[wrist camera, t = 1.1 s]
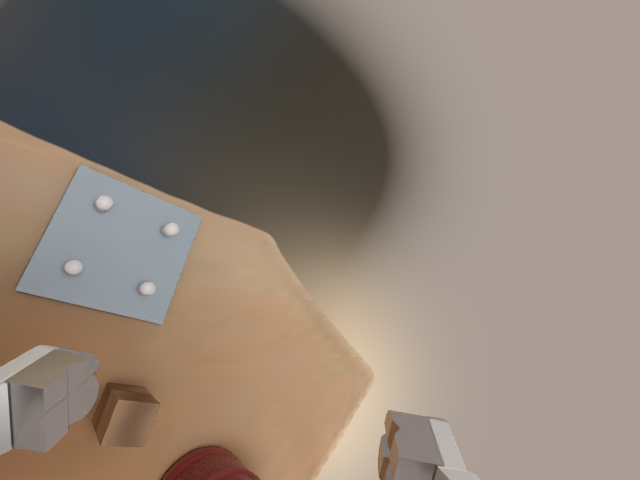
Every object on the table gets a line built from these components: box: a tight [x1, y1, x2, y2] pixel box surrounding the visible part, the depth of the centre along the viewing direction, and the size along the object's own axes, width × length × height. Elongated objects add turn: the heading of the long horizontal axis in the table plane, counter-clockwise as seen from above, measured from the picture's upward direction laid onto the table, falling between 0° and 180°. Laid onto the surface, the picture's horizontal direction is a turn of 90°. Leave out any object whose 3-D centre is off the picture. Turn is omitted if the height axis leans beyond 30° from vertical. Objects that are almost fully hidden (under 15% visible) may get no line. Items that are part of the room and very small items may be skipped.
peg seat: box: [15, 164, 202, 324], centre depth 44 cm, size 16×16×4 cm
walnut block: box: [92, 383, 160, 447], centre depth 41 cm, size 4×4×8 cm
